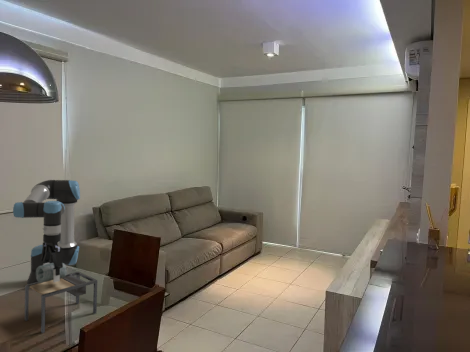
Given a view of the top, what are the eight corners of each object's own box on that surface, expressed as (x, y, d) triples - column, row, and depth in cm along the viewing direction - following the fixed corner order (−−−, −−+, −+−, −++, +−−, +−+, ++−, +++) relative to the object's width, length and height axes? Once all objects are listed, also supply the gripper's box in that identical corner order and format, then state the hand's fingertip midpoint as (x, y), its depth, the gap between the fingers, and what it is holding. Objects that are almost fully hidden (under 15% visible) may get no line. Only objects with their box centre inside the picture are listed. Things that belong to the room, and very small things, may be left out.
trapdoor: (71, 286, 187) (71, 275, 186) (85, 293, 178) (86, 282, 178) (29, 297, 170) (29, 285, 170) (43, 306, 162) (43, 294, 161)
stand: (77, 302, 193) (78, 271, 191) (96, 313, 182) (97, 280, 181) (24, 320, 171) (25, 285, 170) (42, 333, 160) (42, 295, 159)
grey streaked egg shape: (36, 280, 161) (40, 258, 165) (31, 283, 167) (35, 262, 172) (67, 282, 169) (70, 261, 173) (61, 285, 175) (64, 265, 180)
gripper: (33, 230, 173) (32, 275, 174) (55, 239, 160) (54, 287, 161) (48, 228, 179) (48, 271, 180) (71, 236, 166) (70, 282, 167)
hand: (51, 278), depth 171 cm, fingers closed on grey streaked egg shape, 9 cm apart
